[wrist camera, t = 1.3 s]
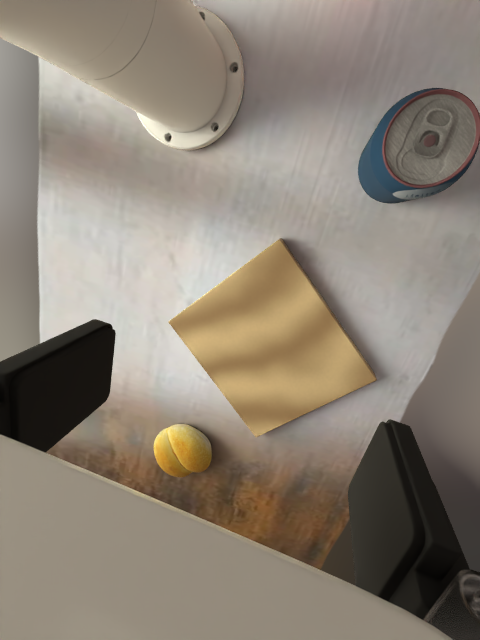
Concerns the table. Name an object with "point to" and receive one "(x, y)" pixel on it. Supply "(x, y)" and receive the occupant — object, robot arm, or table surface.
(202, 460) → the bread roll
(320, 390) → the breadboard
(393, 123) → the soda can
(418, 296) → the table surface
